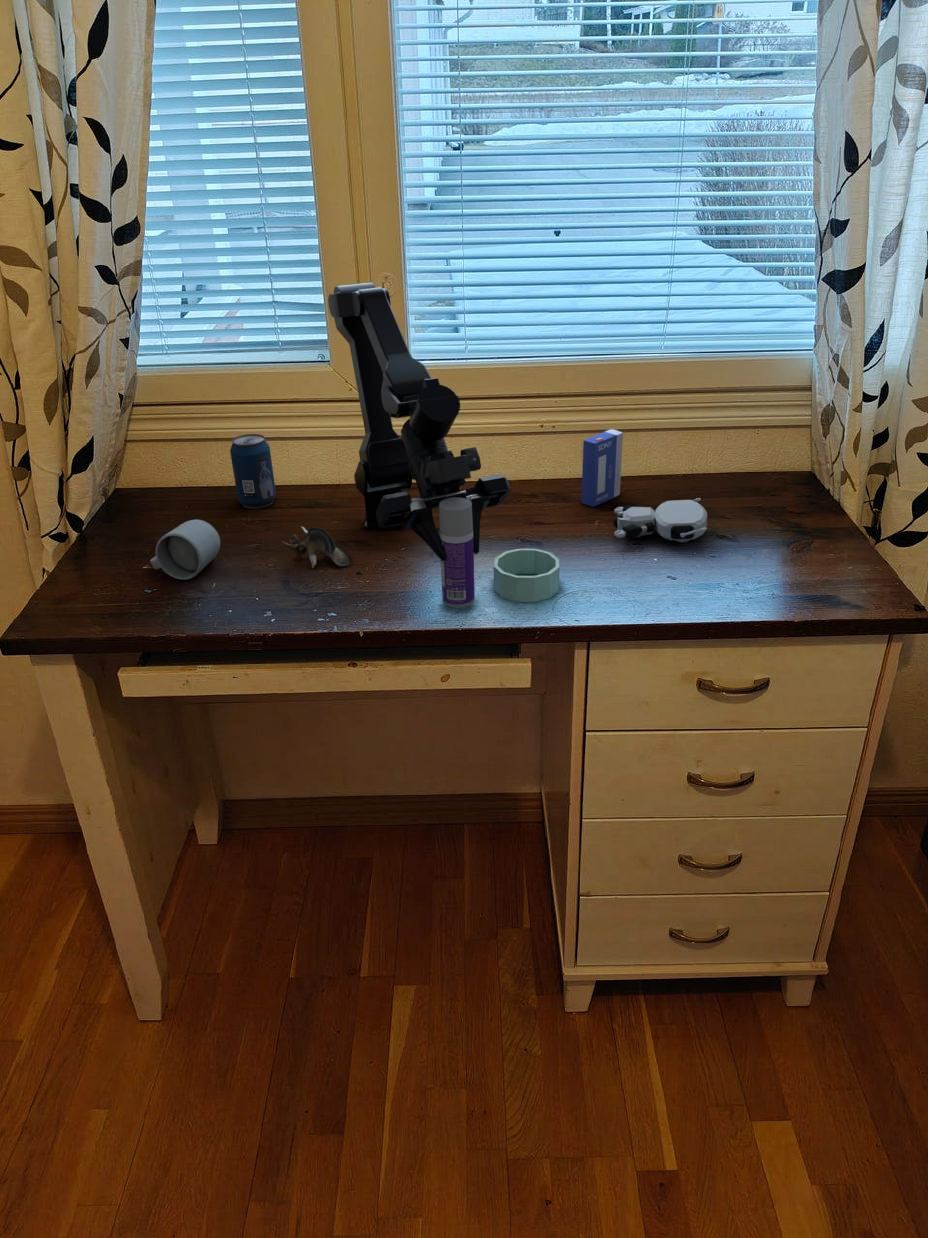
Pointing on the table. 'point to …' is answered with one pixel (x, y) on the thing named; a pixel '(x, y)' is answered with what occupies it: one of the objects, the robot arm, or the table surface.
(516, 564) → the pale green faceted ring
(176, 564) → the ceramic mug
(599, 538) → the table surface
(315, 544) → the grey-brown animal figure
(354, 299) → the robot arm
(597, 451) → the walkman
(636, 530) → the robot toy
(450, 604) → the container
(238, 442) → the soda can
